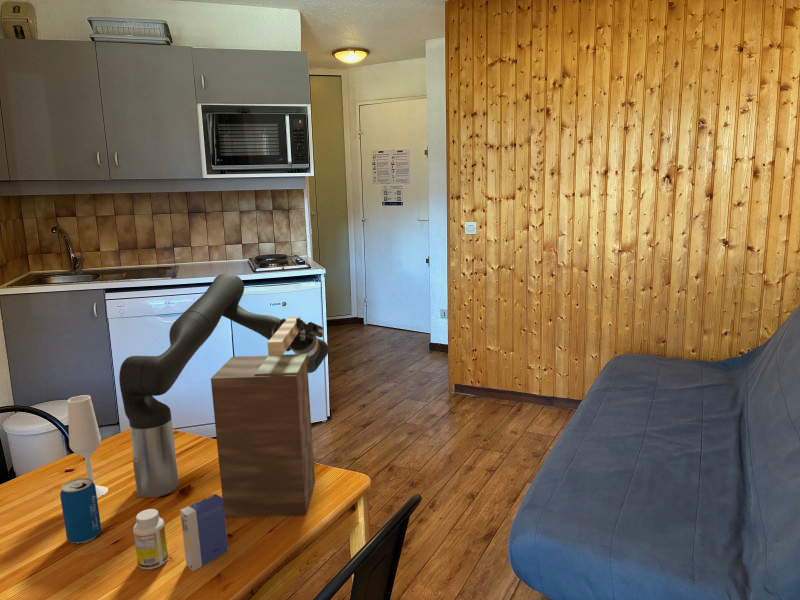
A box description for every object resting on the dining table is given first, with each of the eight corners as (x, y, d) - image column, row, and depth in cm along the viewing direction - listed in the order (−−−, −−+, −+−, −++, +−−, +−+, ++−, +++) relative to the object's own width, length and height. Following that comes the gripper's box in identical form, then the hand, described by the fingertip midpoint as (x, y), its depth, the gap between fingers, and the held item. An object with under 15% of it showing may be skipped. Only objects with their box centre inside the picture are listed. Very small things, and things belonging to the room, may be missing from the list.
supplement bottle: (159, 549, 119) (153, 503, 117) (174, 560, 116) (168, 512, 114) (132, 563, 115) (126, 515, 113) (146, 575, 112) (140, 525, 110)
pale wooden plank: (289, 328, 149) (288, 317, 148) (301, 328, 149) (300, 316, 148) (268, 356, 125) (267, 342, 125) (282, 355, 125) (281, 341, 125)
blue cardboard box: (220, 546, 120) (215, 492, 118) (228, 551, 118) (222, 496, 116) (184, 565, 114) (178, 508, 112) (192, 571, 112) (185, 513, 110)
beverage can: (87, 547, 121) (79, 493, 119) (60, 544, 122) (51, 491, 120) (108, 529, 127) (101, 477, 125) (82, 527, 129) (74, 475, 126)
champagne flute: (75, 503, 139) (61, 405, 134) (78, 490, 145) (64, 396, 140) (107, 496, 141) (94, 400, 137) (108, 483, 147) (95, 392, 143)
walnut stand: (243, 481, 146) (231, 355, 140) (316, 479, 146) (307, 352, 140) (224, 517, 130) (210, 376, 124) (306, 515, 130) (296, 373, 124)
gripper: (277, 328, 161) (262, 308, 144) (328, 326, 160) (319, 306, 144) (276, 355, 158) (260, 338, 142) (328, 353, 158) (319, 336, 142)
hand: (290, 322), depth 143 cm, fingers closed on pale wooden plank, 3 cm apart
